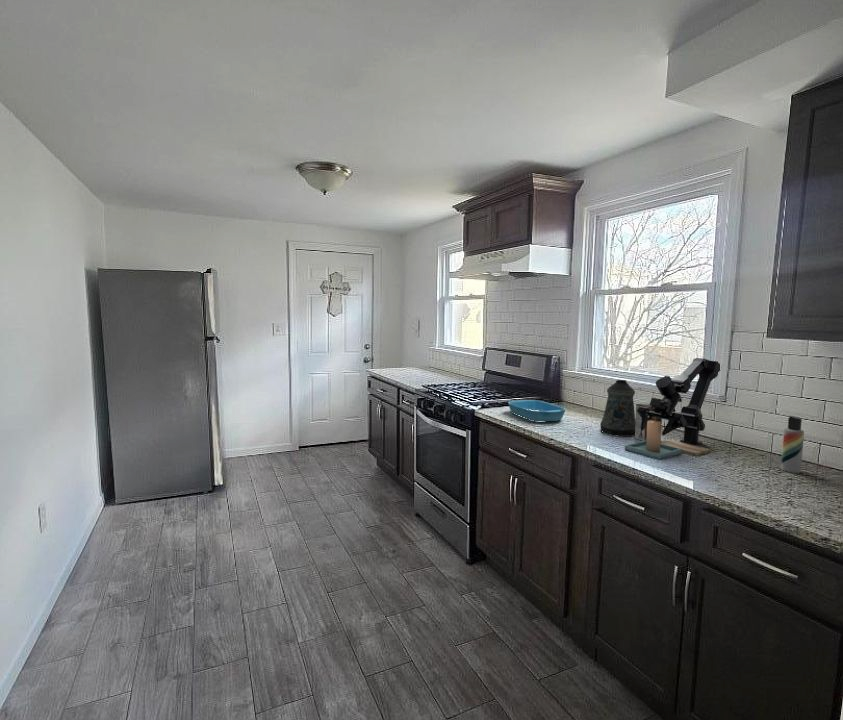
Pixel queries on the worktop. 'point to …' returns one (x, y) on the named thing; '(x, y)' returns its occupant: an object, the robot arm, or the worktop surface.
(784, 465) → the lotion bottle
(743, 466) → the worktop surface
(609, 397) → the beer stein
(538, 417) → the casserole dish
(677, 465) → the worktop surface
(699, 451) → the tan board
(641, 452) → the tray
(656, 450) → the tan glossy round part
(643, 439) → the coffee box
